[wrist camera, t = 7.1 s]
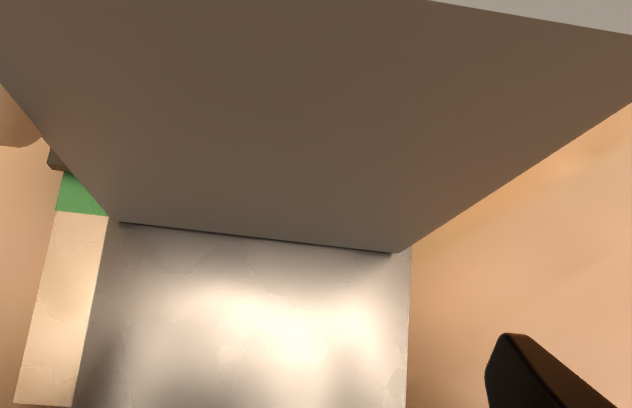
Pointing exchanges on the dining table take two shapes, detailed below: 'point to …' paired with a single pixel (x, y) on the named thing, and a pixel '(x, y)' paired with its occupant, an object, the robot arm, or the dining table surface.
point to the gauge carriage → (307, 106)
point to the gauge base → (210, 319)
